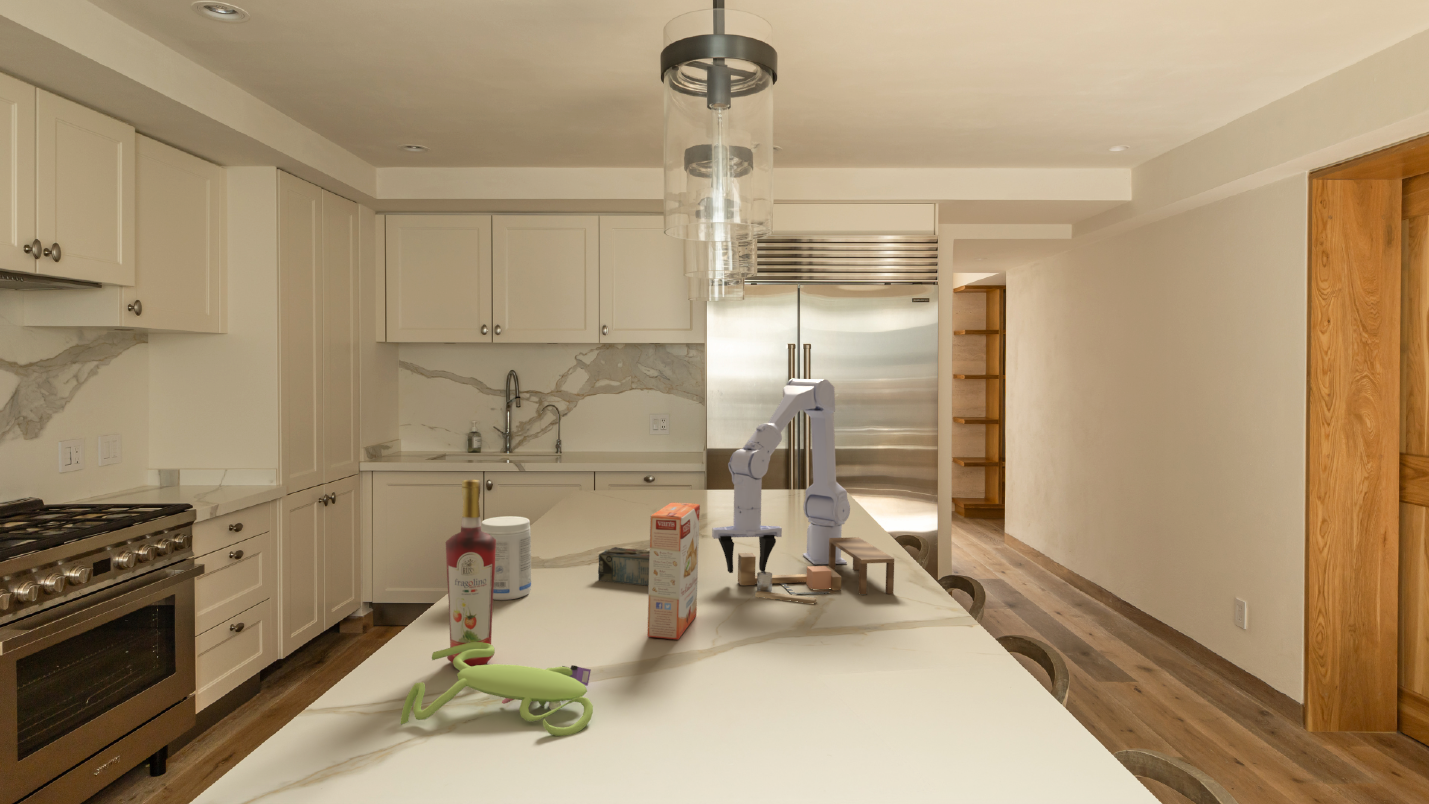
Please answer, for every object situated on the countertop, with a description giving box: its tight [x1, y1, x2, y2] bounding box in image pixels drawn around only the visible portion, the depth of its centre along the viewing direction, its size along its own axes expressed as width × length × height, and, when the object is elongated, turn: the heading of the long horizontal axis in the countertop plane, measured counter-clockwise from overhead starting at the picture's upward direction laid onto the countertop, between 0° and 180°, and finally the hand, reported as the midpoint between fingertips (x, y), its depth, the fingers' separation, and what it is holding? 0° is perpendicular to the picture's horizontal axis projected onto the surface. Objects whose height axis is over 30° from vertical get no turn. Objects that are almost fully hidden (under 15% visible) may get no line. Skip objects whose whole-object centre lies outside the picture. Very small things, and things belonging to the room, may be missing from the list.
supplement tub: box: [481, 515, 532, 601], centre depth 161 cm, size 10×10×15 cm
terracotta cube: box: [806, 565, 831, 590], centre depth 170 cm, size 4×4×4 cm
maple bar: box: [754, 590, 818, 604], centre depth 161 cm, size 2×12×1 cm, turn 69°
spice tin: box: [756, 571, 773, 593], centre depth 165 cm, size 3×3×4 cm
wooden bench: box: [827, 536, 895, 595], centre depth 175 cm, size 20×7×7 cm, turn 11°
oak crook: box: [737, 552, 842, 591], centre depth 170 cm, size 20×9×6 cm, turn 101°
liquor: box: [445, 479, 496, 667], centre depth 124 cm, size 7×7×28 cm
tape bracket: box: [779, 583, 830, 595], centre depth 170 cm, size 12×8×1 cm, turn 11°
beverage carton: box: [597, 546, 650, 587], centre depth 172 cm, size 8×19×7 cm, turn 72°
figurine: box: [400, 642, 594, 737], centre depth 111 cm, size 18×27×6 cm
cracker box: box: [647, 502, 701, 641], centre depth 143 cm, size 14×6×21 cm, turn 168°
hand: (746, 571), depth 171 cm, fingers open, 6 cm apart
